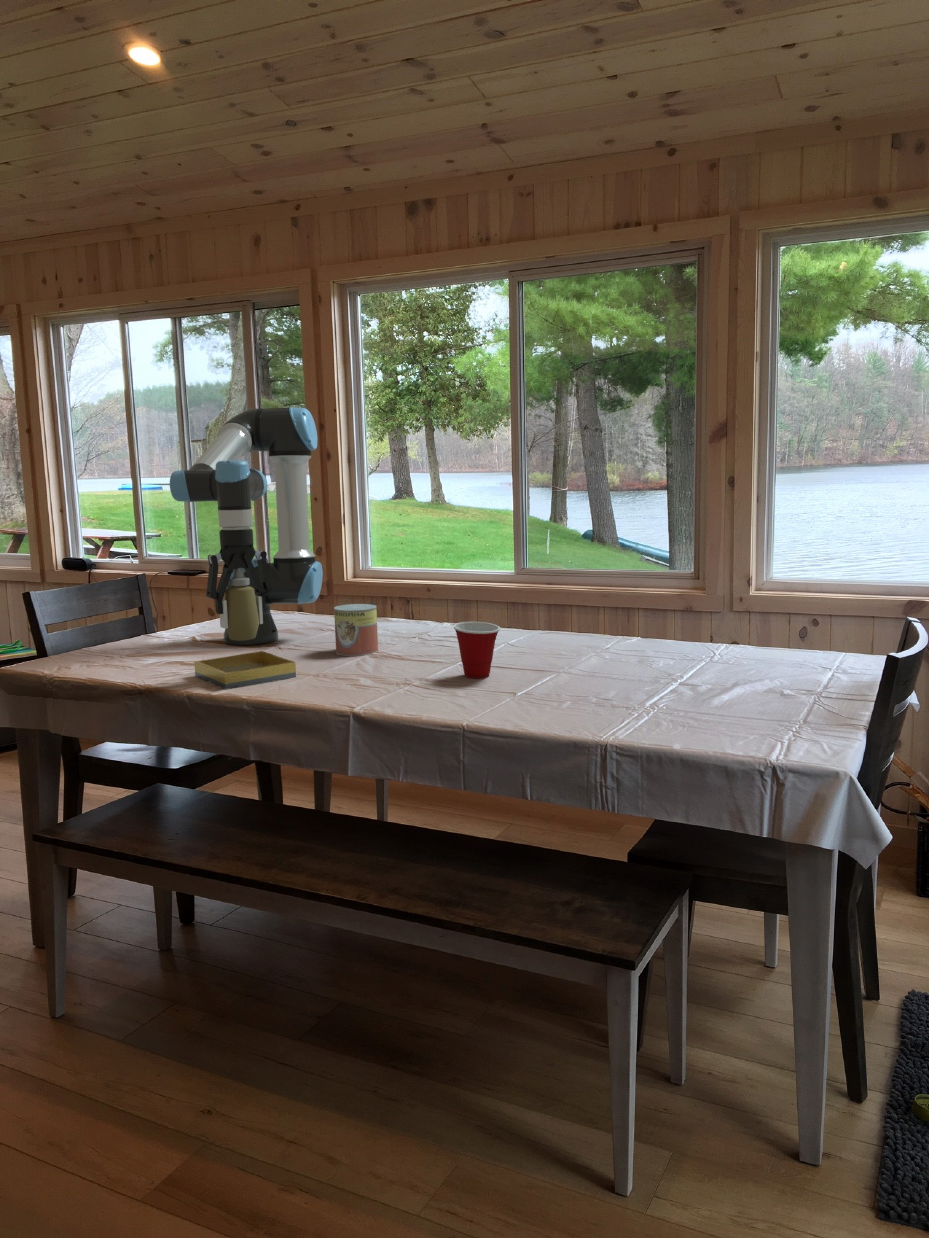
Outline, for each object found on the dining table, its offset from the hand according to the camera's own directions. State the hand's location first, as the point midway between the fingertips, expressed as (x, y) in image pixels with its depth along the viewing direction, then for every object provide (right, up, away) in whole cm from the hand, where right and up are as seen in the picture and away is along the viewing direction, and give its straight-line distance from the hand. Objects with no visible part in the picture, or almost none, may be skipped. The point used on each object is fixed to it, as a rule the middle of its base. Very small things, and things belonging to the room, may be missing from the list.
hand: (241, 625), depth 218 cm
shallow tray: (0, -12, +2) cm, 12 cm away
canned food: (+24, -7, +29) cm, 38 cm away
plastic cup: (+55, -12, -2) cm, 57 cm away
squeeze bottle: (0, -3, +1) cm, 3 cm away
